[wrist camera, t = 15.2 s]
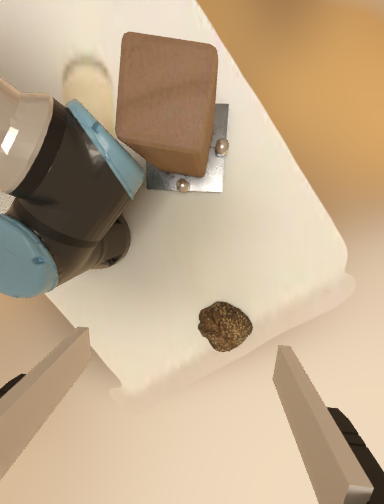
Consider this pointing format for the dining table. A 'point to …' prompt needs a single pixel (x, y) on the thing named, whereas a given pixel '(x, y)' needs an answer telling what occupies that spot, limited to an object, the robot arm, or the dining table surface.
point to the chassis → (213, 170)
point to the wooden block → (167, 101)
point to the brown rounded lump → (224, 326)
